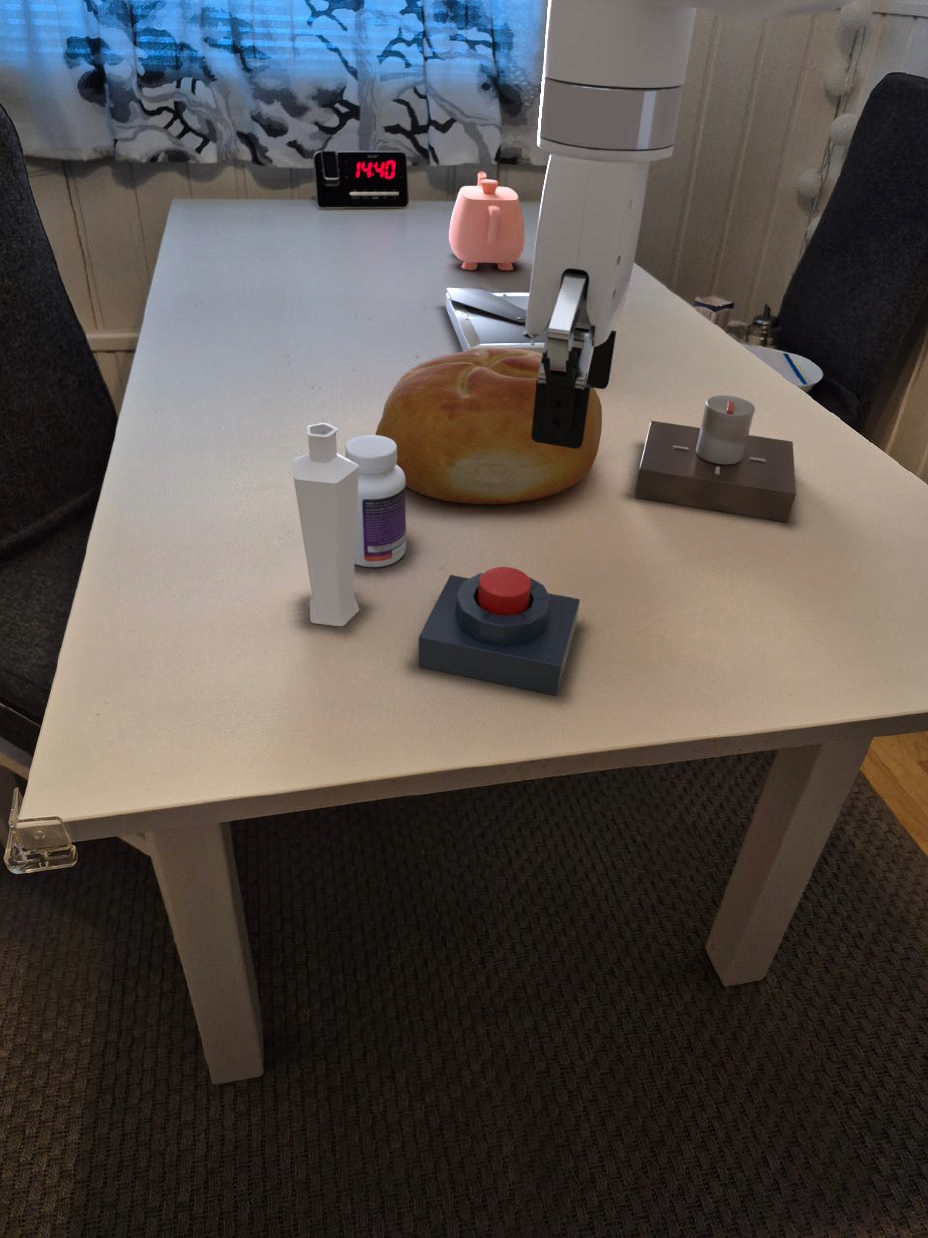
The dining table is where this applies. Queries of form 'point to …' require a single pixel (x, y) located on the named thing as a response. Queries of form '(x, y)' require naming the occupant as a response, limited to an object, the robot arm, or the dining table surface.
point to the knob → (724, 429)
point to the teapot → (487, 225)
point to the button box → (499, 637)
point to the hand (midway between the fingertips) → (571, 412)
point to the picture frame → (491, 320)
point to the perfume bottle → (328, 524)
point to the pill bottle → (378, 501)
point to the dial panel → (717, 474)
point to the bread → (481, 430)
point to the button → (504, 591)
